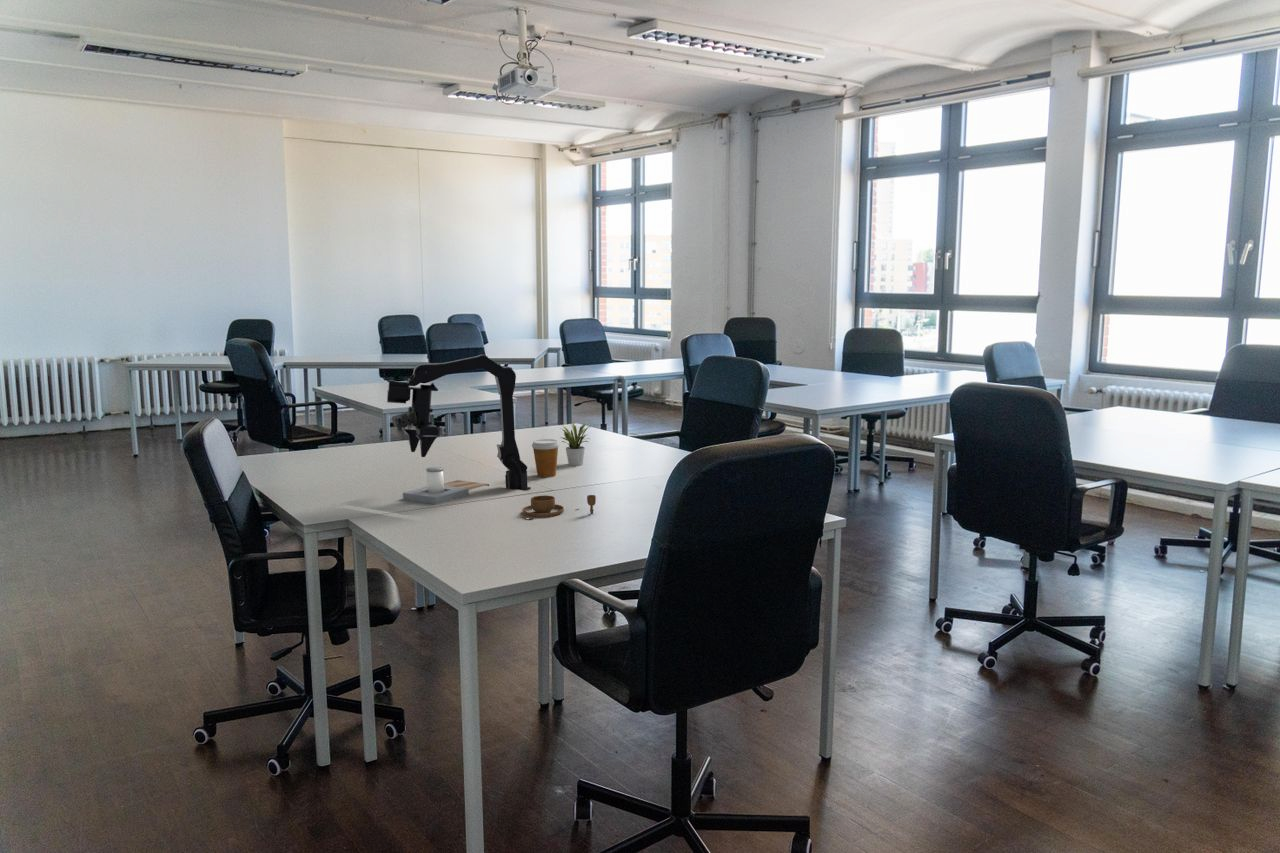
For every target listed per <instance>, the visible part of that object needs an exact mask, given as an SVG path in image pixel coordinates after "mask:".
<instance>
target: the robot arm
mask: <svg viewBox="0 0 1280 853" xmlns="http://www.w3.org/2000/svg"><path fill="white" fill-rule="evenodd" d="M477 369H483V370H485V371H486V372H488V373H489V374H491V375H493V376H494V378H495V383H496V387H497V390H498V393H499V404H500V419H501V420H500V421H501V422H500V424H501V443H500V444H496V447H497V448H496V449H497V455H496V458H498V459H499V461H500V462H501V464H502V465H503V466H504V467H505V468H506V469H507V470H505V475H504V477H505V489H508V490H517V491H527V490H530V489H531V488H532V487H530V486H528V466H527V465H526V463H524V462H523V461H522V460H521V456H520V452H519V448H518V444H517V441H516V434H515V431H516V430H515V415H514V414H515V413H514V392H515V387H516V381H517V380H516V379H517V375H516V372H515V370H513V369H512V368H510V367H508V366H504V365H502V366H501V365H499V363H497V362H495V361H494V360H493V359H491V358H489V357H488V355H485V354H479V355H478V354H477V355H476V356H471V357H466V358H465V357H464V358H461V359H457V360H452V361H451V360H450V361H446V362H426V363H423V362H422V363H418V364H417V365H416V366H414V368H413V373H412V375H411V376H410V377H409V378H407V380H406V381H396V380H394V379H393V380H391V379H390V380H388V386H387V387H388V388H387V390H386V391H387V392H386V394H387V395H386V401H387V402H386V403H391V404H407V402H409V401H410V400H411V406H408V408H407V411H405V412H402V413H398V414H395V415H394V416H391V421H392V424H393V427H394V428H396V429H401V430H402V431H403V432H404V433H405V434H406V435H407V437H408V443H409V446H410V447H409V448H410V452H411V453H416V450H417V448H418V445H419V446H420V456H421V458H426V456H427V454H428V452H429V450H430V449H431V447H432V445H433V444H434V442H435V440H436V439H438V436H440V431H441V430H440V428H439V427H438V426H437V425H434V424H432V423H433V422H432V421H431V420H430V419H431V413H433V410H434V409H433V408H431V407H432V392H438V391H439V389H438V387H436V385H435V382H433V381H436V380H438V379H440V378H442V377H444V376H445V377H446V376H447V375H453V374H459V373H462V372H468V371H472V370H477ZM429 383H430V384H429ZM418 385H419V386H418ZM411 390H412V395H411Z"/></svg>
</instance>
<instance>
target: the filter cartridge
mask: <svg viewBox="0 0 1280 853" xmlns="http://www.w3.org/2000/svg"><path fill="white" fill-rule="evenodd" d="M425 471H426V484H427V485H426V487H427V489H428V493H433V494H438V493H441V492H444V484H445V482H444V480H445V479H444V478H445V476H444V467H443V466H429V467H426V469H425Z"/></svg>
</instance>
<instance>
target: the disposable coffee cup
mask: <svg viewBox="0 0 1280 853" xmlns="http://www.w3.org/2000/svg"><path fill="white" fill-rule="evenodd" d="M559 446H560V443H559V440H558V439H552V438H551V439H550V438H548V439H546V438H545V439H543V438H542V439H535V440H533V441H532V444H531V447H532V451H533V455H534V460H535V463H534V464H535V468H536V473H537V474H536V475H537V476H538V477H539V476H540V478H552V477H555V476H556V475H557V466H558V464H557V463H558V454H559V453H558V452H559ZM551 476H552V477H551Z"/></svg>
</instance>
